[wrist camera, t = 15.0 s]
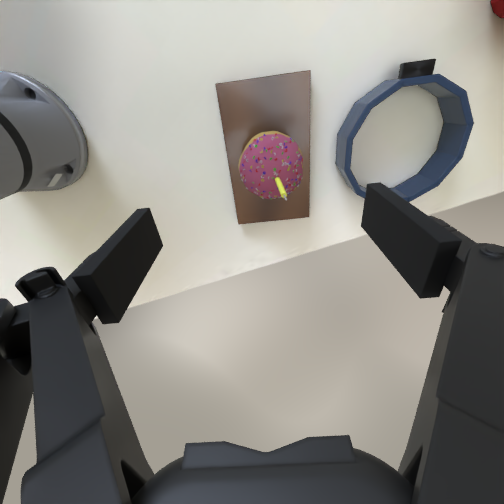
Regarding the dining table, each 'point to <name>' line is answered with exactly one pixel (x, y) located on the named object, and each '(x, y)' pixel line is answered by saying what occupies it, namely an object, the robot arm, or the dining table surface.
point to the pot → (451, 136)
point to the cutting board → (263, 120)
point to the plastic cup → (498, 7)
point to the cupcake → (271, 165)
